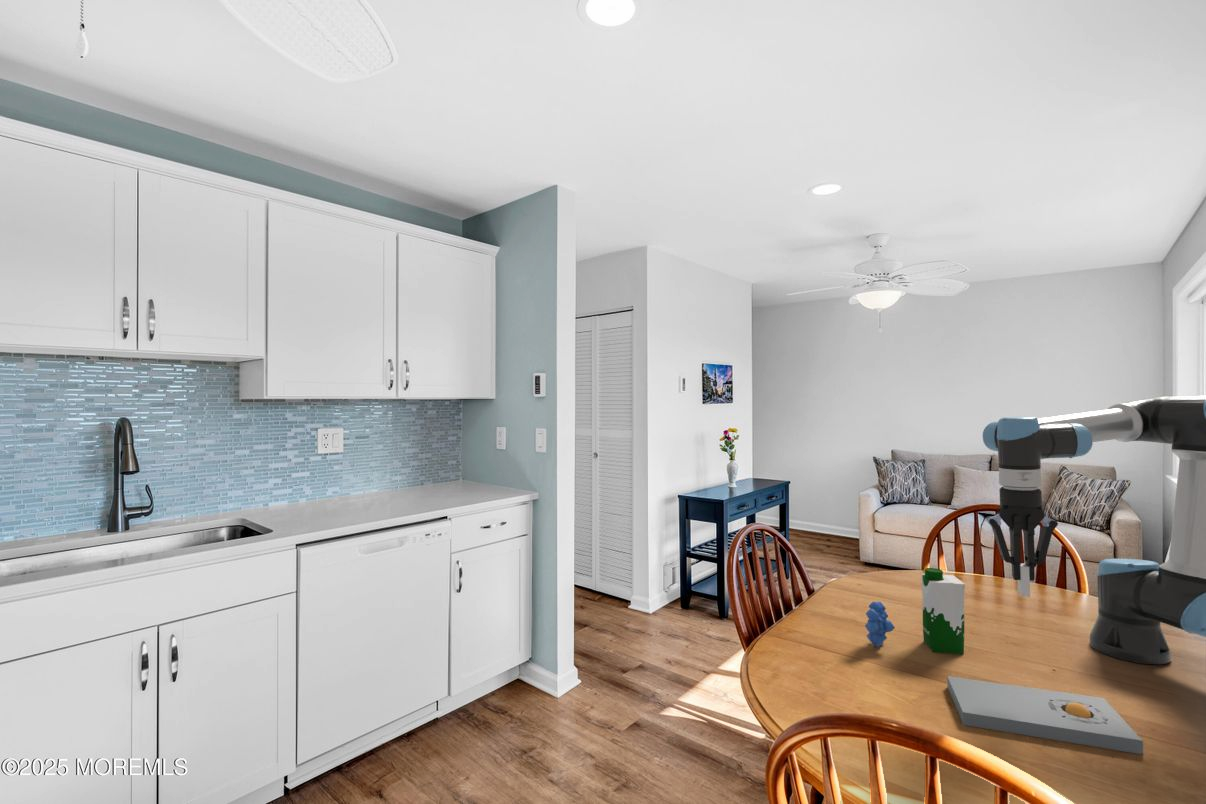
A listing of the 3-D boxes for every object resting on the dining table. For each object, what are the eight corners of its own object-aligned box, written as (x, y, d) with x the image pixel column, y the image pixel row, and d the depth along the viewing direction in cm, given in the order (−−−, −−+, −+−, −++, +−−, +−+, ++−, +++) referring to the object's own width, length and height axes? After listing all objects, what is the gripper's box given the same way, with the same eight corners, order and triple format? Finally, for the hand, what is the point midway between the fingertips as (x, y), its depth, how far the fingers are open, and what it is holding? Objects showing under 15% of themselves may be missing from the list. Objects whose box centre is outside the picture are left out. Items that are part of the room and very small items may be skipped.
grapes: (888, 658, 144) (887, 610, 144) (860, 651, 149) (859, 604, 148) (901, 643, 153) (900, 598, 153) (874, 637, 157) (873, 592, 157)
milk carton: (918, 639, 155) (918, 564, 155) (956, 642, 153) (955, 566, 153) (930, 653, 147) (929, 574, 146) (970, 656, 145) (969, 576, 145)
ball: (1088, 717, 116) (1081, 697, 116) (1098, 728, 112) (1090, 707, 112) (1065, 719, 117) (1058, 700, 117) (1074, 730, 113) (1066, 710, 113)
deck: (1103, 710, 119) (1103, 697, 119) (1143, 754, 105) (1142, 740, 105) (947, 687, 130) (947, 676, 130) (963, 724, 115) (963, 712, 115)
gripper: (990, 489, 126) (994, 598, 126) (1062, 490, 122) (1067, 602, 122) (980, 484, 133) (984, 587, 133) (1048, 485, 129) (1052, 591, 129)
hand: (1023, 594), depth 128 cm, fingers closed
